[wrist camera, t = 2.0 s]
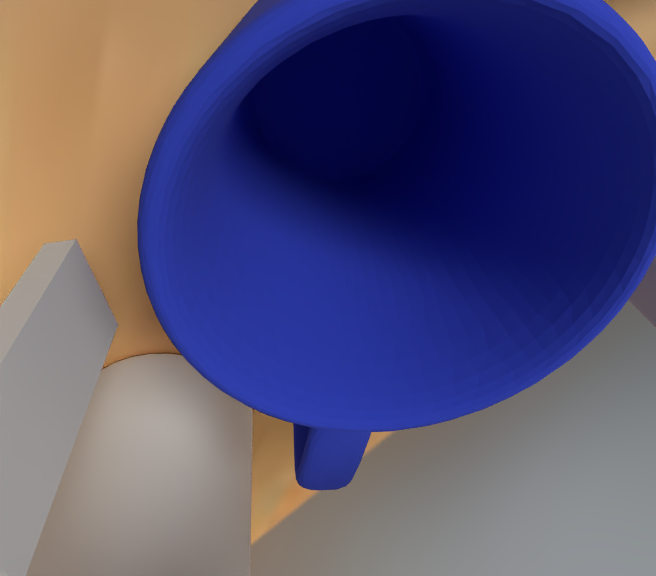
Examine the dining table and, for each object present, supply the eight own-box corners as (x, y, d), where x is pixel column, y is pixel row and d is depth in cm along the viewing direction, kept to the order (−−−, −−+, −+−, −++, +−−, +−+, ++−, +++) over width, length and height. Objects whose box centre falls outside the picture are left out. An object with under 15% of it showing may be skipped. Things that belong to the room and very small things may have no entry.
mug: (198, 280, 19) (155, 533, 11) (206, -102, 12) (105, -132, 4) (395, 295, 21) (475, 527, 13) (503, -37, 14) (826, 29, 6)
